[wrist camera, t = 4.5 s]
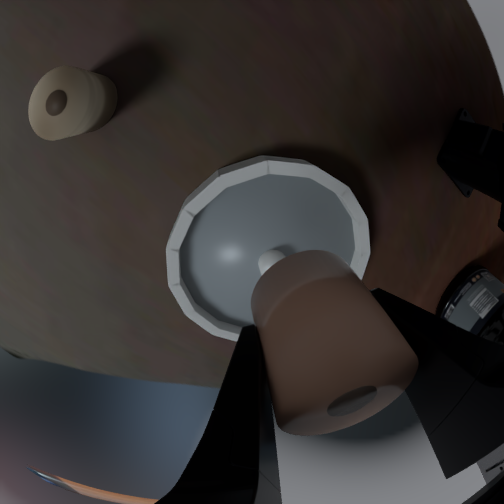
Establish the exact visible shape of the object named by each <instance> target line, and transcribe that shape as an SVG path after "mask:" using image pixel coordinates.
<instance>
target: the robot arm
mask: <svg viewBox="0 0 504 504" xmlns="http://www.w3.org/2000/svg"><path fill="white" fill-rule="evenodd" d="M502 125H503V130H504V123H502ZM442 159H443V160H442ZM437 162H438V164H439V165H440V167H441V168H442V169H443V170H444V171H445V173H446V174H447V175H448V176H449V177H450V179H451V180H452V181H453V182H454V184H455V185H456V186H457V187H458V189H459V190H460V191H461V193H462V194H463V195H464V196H465V197H467V198H468V197H470V195H471V193H472V191H473V189H476V190H478V191H480V192H482V193H484V194H486V195H488V196H490V197H492V198H493V199H495V200H497V201H499V202H501V203H502V204H501V212H500V219H499V221H498V227H499V228H500V229H501V230H502V231H503V232H504V132H502V131H498V130H495V129H492V128H491V127H488V126H485V125H481V124H476V123H475V121H474V120H473V118H472V117H471V115H470V114H469V112H468V111H467V110H466V109H464V108H461V109H460V110H459V113H458V115H457V117H456V119H455V122H454V124H453V126H452V128H451V131H450V133H449V135H448V137H447V139H446V141H445V143H444V145H443V147H442V149H441V151H440V153H439V155H438V158H437ZM369 291H370V292H371V294H372V295H373V296H374V297H375V299H376V300H377V301H378V303H379V304H380V305H381V307H382V308H383V309H384V311H385V312H386V313H387V315H388V316H389V317H390V319H391V320H392V321H393V323H394V324H395V326H396V327H397V328H398V330H399V331H400V333H401V334H402V335H403V337H404V338H405V340H406V341H407V342H408V344H409V345H410V347H411V348H412V350H413V351H414V353H415V354H416V356H417V358H418V363H419V364H418V369H417V372H416V374H415V376H414V378H413V380H412V381H411V383H410V384H409V385H408V387H407V388H406V389H405V392H406V394H407V395H408V397H409V400H410V402H411V404H412V406H413V408H414V409H415V412H416V414H417V416H418V417H419V419H420V422H421V423H422V425H423V428H424V430H425V432H426V434H427V436H428V439H429V441H430V443H431V445H432V448H433V450H434V452H435V454H436V457H437V459H438V461H439V464H440V466H441V468H442V471H443V473H444V475H445V477H446V479H448V478H450V477H452V476H453V475H455V474H457V473H459V472H461V471H462V470H464V469H466V468H468V467H469V466H471V465H472V464H474V463H476V462H477V464H478V466H479V468H480V470H481V473H482V475H483V477H484V479H485V481H486V485H485V486H484V487H483V488H482V489H481V490H479V491H478V492H477V493H475V494H474V495H473V496H471V497H470V498H469V499H468V500H466V501H465V502H463V503H462V504H504V346H503V345H500V344H498V343H495V342H492V341H490V340H487V339H485V338H482V337H480V336H478V335H475V334H473V333H471V332H469V331H467V330H465V329H463V328H461V327H459V326H457V327H456V325H455V324H453V323H451V322H449V321H447V320H444V319H442V318H440V317H438V316H436V315H434V314H432V313H430V312H428V311H426V310H424V309H422V308H420V307H418V306H416V305H414V304H412V303H410V302H407V301H405V300H403V299H401V298H399V297H397V296H395V295H393V294H391V293H389V292H386V291H384V290H382V289H380V288H375V289H372V290H369ZM213 409H214V410H213V411H212V413H211V416H210V419H209V421H208V424H207V426H206V429H205V431H204V434H203V436H202V438H201V440H200V442H199V444H198V446H197V448H196V450H195V452H194V453H193V455H192V457H191V459H190V461H189V462H188V464H187V466H186V468H185V470H184V471H183V474H182V475H181V477H180V479H179V480H178V482H177V483H176V485H175V486H174V487H173V488H172V490H171V491H170V492H168V493H167V494H166V495H165V496H164V497H162V498H161V499H160V500H159V501H157V502H156V503H154V504H282V499H281V493H280V492H281V490H280V480H279V470H278V460H277V449H276V440H275V429H274V419H273V409H272V401H271V396H270V392H269V388H268V383H267V379H266V374H265V369H264V364H263V358H262V353H261V349H260V344H259V340H258V335H257V331H256V327H255V325H254V324H250V325H246V326H243V327H242V329H241V332H240V334H239V337H238V340H237V343H236V346H235V349H234V352H233V355H232V357H231V360H230V363H229V366H228V369H227V372H226V374H225V377H224V380H223V383H222V386H221V389H220V391H219V394H218V397H217V400H216V403H215V406H214V408H213Z"/></svg>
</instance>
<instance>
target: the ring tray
mask: <svg viewBox="0 0 504 504" xmlns="http://www.w3.org/2000/svg"><path fill="white" fill-rule="evenodd" d="M306 250H324V251H329V252H332V253H334V254H336V255H338V256H340V257H341V258H343V259H344V260H345V261H346V262H347V263H348V264H349V266H350V267H351V268H352V269H353V271H354V272H355V273H356V274H357V276H358V277H359V278H360V279H361V280H362V277H363V274H364V271H365V268H366V265H367V262H368V259H369V256H370V240H369V227H368V219H367V217H366V215H365V213H364V212H363V210H362V208H361V206H360V205H359V203H358V201H357V200H356V198H355V196H354V194H353V193H352V191H351V190H350V188H349V187H348V186H346V185H345V184H343V183H342V182H340V181H339V180H337V179H335V178H334V177H332V176H331V175H329V174H328V173H326V172H324V171H323V170H321V169H319V168H318V167H316V166H315V165H313V164H311V163H309V162H307V161H305V160H302V159H294V158H285V157H275V156H265V155H262V156H261V155H260V156H257V157H254V158H251V159H248V160H244V161H241V162H238V163H235V164H232V165H229V166H226V167H223V168H220V169H219V170H217V171H216V172H215V173H213V174H212V175H211V176H210V177H209V178H208V179H207V180H205V181H204V182H203V183H202V184H201V185H200V186H199V187H198V188H197V189H195V190H194V191H193V192H192V193H191V194H190V195H189V196H188V197H187V198H186V199H185V201H184V203H183V205H182V208H181V210H180V212H179V215H178V217H177V219H176V221H175V224H174V226H173V229H172V231H171V233H170V236H169V240H168V243H167V247H166V259H167V274H168V286H169V288H170V290H171V291H172V293H173V295H174V296H175V298H176V300H177V302H178V303H179V305H180V307H181V308H182V310H183V312H184V313H185V315H186V316H187V317H189V318H190V319H191V320H193V321H194V322H195V323H197V324H198V325H200V326H201V327H202V328H204V329H205V330H207V331H208V332H209V333H211V334H212V335H215V336H218V337H222V338H226V339H229V340H233V341H237V340H238V337H239V334H240V332H241V329H242V327H243V326H246V325H250V324H254V320H253V316H252V311H251V296H252V293H253V290H254V287H255V285H256V283H257V282H258V280H259V279H260V277H261V276H262V275H263V274H264V273H265V271H267V270H268V269H269V268H270V267H271V266H272V265H274V264H275V263H276V262H278V261H279V260H281V259H283V258H285V257H287V256H289V255H291V254H294V253H298V252H301V251H306Z"/></svg>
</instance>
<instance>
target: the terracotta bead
mask: <svg viewBox="0 0 504 504" xmlns="http://www.w3.org/2000/svg"><path fill="white" fill-rule="evenodd" d="M251 311H252V316H253V320H254V325H255V327H256V331H257V335H258V340H259V344H260V349H261V353H262V358H263V364H264V369H265V374H266V379H267V383H268V388H269V392H270V396H271V401H272V405H273V409H274V413H275V418H276V422H277V425H278V427H279V428H280V429H281V430H282V431H284V432H286V433H289V434H293V435H302V436H306V435H308V436H309V435H319V434H325V433H329V432H334V431H337V430H340V429H344V428H347V427H349V426H352V425H354V424H356V423H359V422H361V421H363V420H365V419H367V418H369V417H370V416H372V415H374V414H375V413H377V412H378V411H380V410H382V409H383V408H385V407H386V406H387V405H389V404H390V403H391V402H392V401H394V400H395V399H396V398H397V397H398V396H399V395H400V394H401V393H402V392H403V391H404V390H405V389H406V388H407V387H408V385H409V384H410V383H411V381H412V380H413V378H414V376H415V374H416V372H417V369H418V364H419V363H418V358H417V356H416V354H415V353H414V351H413V350H412V348H411V347H410V345H409V344H408V342H407V341H406V340H405V338H404V337H403V335H402V334H401V333H400V331H399V330H398V328H397V327H396V326H395V324H394V323H393V321H392V320H391V319H390V317H389V316H388V315H387V313H386V312H385V311H384V309H383V308H382V307H381V305H380V304H379V303H378V301H377V300H376V299H375V297H374V296H373V295H372V294H371V292H370V291H369V290H368V288H367V287H366V286H365V284H364V283H363V282H362V281H361V279H360V278H359V277H358V276H357V274H356V273H355V272H354V271H353V269H352V268H351V267H350V266H349V264H348V263H347V262H346V261H345V260H344V259H343V258H341V257H340V256H338V255H336V254H334V253H332V252H329V251H324V250H306V251H301V252H298V253H294V254H291V255H289V256H287V257H285V258H283V259H281V260H279V261H278V262H276V263H275V264H274V265H272V266H271V267H270V268H269V269H268V270H267V271H265V273H264V274H263V275H262V276H261V277H260V279H259V280H258V282H257V283H256V285H255V287H254V290H253V293H252V296H251Z"/></svg>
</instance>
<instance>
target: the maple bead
mask: <svg viewBox="0 0 504 504" xmlns="http://www.w3.org/2000/svg"><path fill="white" fill-rule="evenodd" d="M117 100H118V95H117V90H116V87H115V85H114V83H113V82H112V81H111V80H110V79H109V78H108V77H106V76H104V75H101V74H98V73H94V72H91V71H87V70H83V69H80V68H76V67H72V66H60V67H57V68H55V69H53V70H51V71H49V72H48V73H47V74H45V75H44V76H43V77H42V78H41V80H40V81H39V82H38V83H37V85H36V87H35V88H34V90H33V93H32V95H31V98H30V102H29V120H30V124H31V126H32V128H33V130H34V131H35V133H36V134H37V135H38V136H39V137H41V138H43V139H45V140H51V141H52V140H59V139H62V138H66V137H70V136H75V135H79V134H83V133H88V132H93V131H96V130H98V129H100V128H101V127H103V126H104V125H105V124H106V123H107V122H108V121H109V120H110V119H111V117H112V115H113V114H114V112H115V109H116V106H117Z"/></svg>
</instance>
